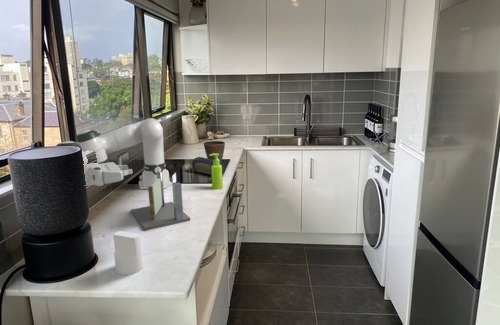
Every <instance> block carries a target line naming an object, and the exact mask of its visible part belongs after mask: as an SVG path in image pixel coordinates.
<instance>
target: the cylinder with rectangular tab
mask: <svg viewBox="0 0 500 325" xmlns="http://www.w3.org/2000/svg"><path fill="white" fill-rule="evenodd" d="M112 236H113V243H114V253H113V256H114V257H113V258H114V265H115V272H116V273H117V274H118V275H122V276H130V275H134V274H136V273H139V272H141V271H142V270H144V267H145V259H144V250H143V247H142V246H143V245H142V235H141V234H140V233H133V232H127V231H123V230H122V231H121V230H119V231H116V232H115V233H114V234H113V235H112Z"/></svg>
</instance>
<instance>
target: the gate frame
mask: <svg viewBox="0 0 500 325" xmlns="http://www.w3.org/2000/svg"><path fill="white" fill-rule="evenodd" d="M157 179H160V180H161V193H162V206H161V208H160V209H159V211H158V212H157V214H156V215H155V219H151V215H150V205H148V206H143V207H136V208H132V209H130V213H131V214H132V216H133V217H134V218H135V219H136V221H137V222H138V223H139V225H140V226H141V227H142V229H143V231H149V230H154V229H157V228H162V227H167V226H172V225H176V224H181V223H185V222H189V221H191V217H190V216H188V214H186V212H184V206H183V192H182V190H183V189H182V184H181V183H180V182H179V181H178V182H174V183H173V182H172V184H171V186H172V200H173V201H170V202H169V201H168V202H165V196H164V195H165V194H164V188H163V177H162V172H161V171H159V172H157Z"/></svg>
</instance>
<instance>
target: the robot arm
mask: <svg viewBox="0 0 500 325" xmlns="http://www.w3.org/2000/svg"><path fill="white" fill-rule="evenodd" d="M75 140H76V141H72V140H68V141H67V140H65V141H62V142H59V143H57V144H56V146H75V147H79V148H80V149H82V154H83V161H84V164H83V165H84V174H85V181H86V185H85V186H88V187H89V186H97V187H101V186H103V187H104V184H105V185H106V184H107V185H108V184H112V183H116V182H121V181H123V180H124V177H126V176H128V175H132V174H133V172H134V171H133V169H132V168H129V165H128V164H116V163H115V162H110V159H109V157H108V154H109V153H114V152H118V151H121V150H125V149H128V148H130V147H133V146H137V145H138V144H140V143H142V147H143V159H144V160H143V161H144V162H143V169H144V170H143V171H142V173H141V175H139V181H138V186H139V190H147V191H148V187H149V186H152V185H153V184H154V182H155V181H156V180H157V172H159V171H161V172H162V177H163V189H166V188H168V187H170V186H172V183H173V181H170V173H169V170H168V169H167V166H166V162H165V151H164V149H165V148H164V147H165V146H164V129H163V126H162V125H161V122H160V121H159V120H157V119H156V118H152V117H150V118H146V119H144V120H140V121H138V122H135V123H133V124H132V123H131V124H130V125H128V126H123V127H121V128H118V129H114V130H112V131H109V132H107V133H104V134H103V135H101V133H100V132H99V133H98V131H97V130H94V129H84V130H82V131H80V132H79V133H77V135H76V139H75ZM90 151H95V152H96V153H95V154H96V158H97V163H89V164H87V163H88V159H87V157H86V153H87V152H90Z"/></svg>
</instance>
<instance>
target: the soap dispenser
mask: <svg viewBox="0 0 500 325" xmlns="http://www.w3.org/2000/svg"><path fill="white" fill-rule="evenodd" d="M213 155H215V159H214V160H213V164H214V165H212V166H211V170H212V175H211V189H212V190H215V189H219V190H221V189H222V190H223V187H224V184H223V174H222V165H220V162H219V159H218V155H219V154H218V153H214V154H210V155H209V156H213Z"/></svg>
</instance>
